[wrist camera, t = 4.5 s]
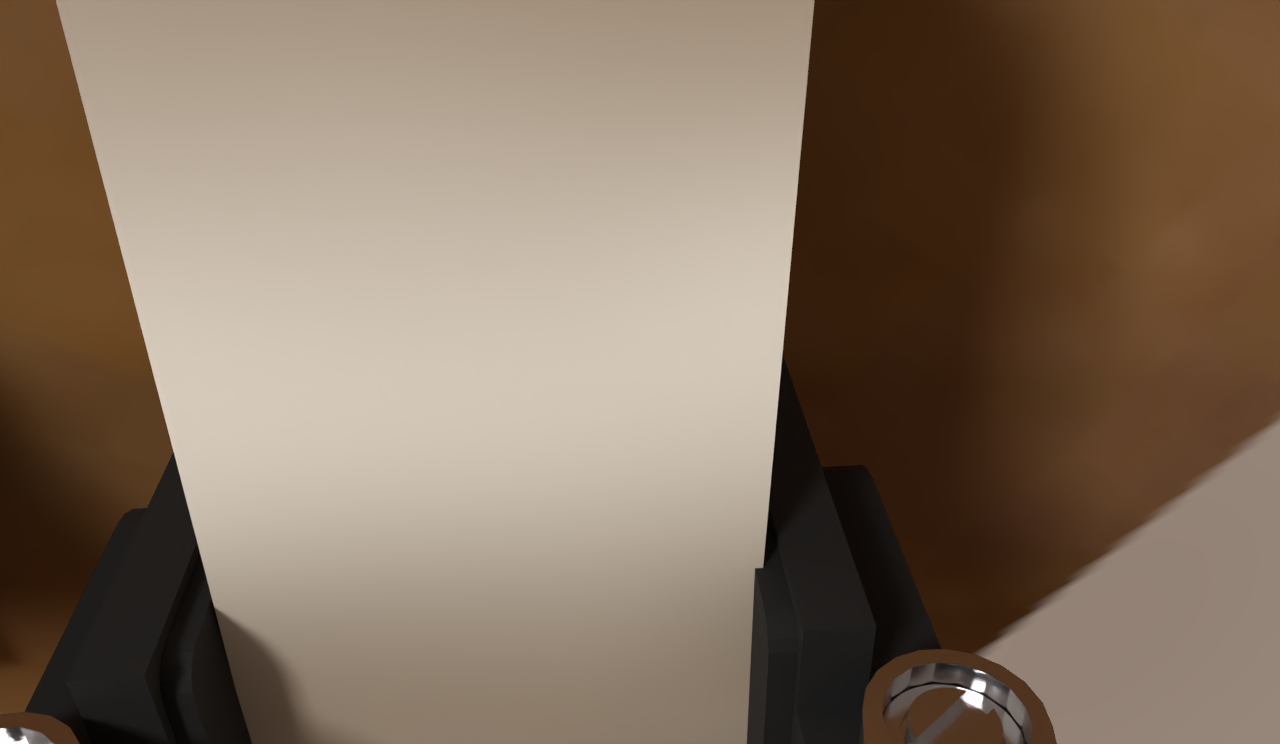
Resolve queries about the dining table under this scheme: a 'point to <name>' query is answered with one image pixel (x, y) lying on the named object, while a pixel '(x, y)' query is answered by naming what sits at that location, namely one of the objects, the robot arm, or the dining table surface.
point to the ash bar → (464, 345)
